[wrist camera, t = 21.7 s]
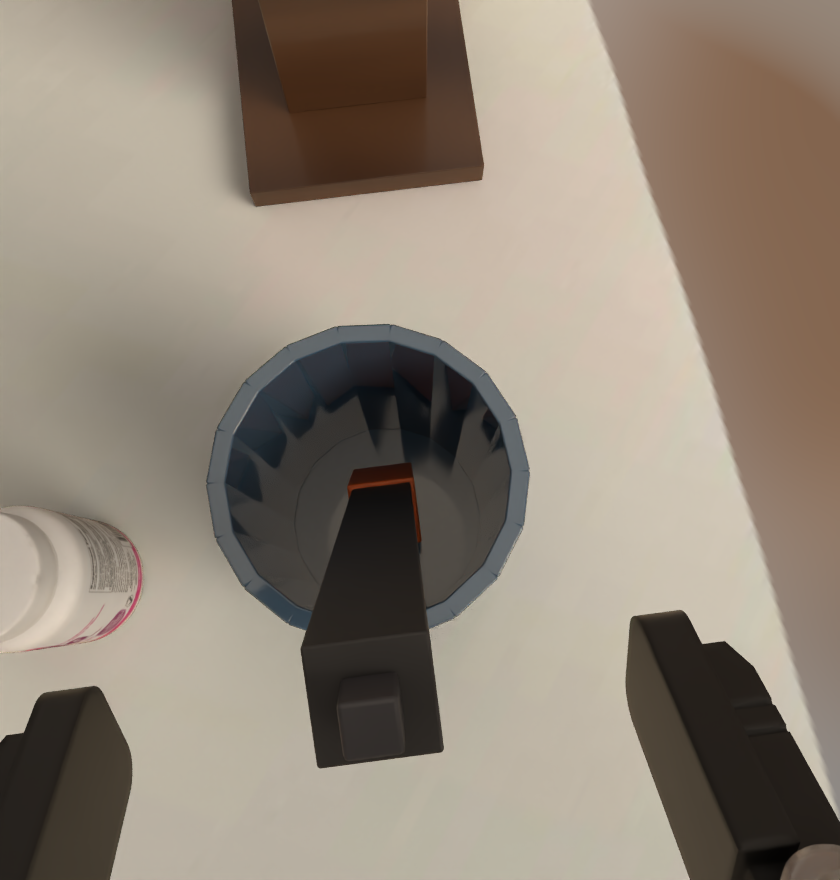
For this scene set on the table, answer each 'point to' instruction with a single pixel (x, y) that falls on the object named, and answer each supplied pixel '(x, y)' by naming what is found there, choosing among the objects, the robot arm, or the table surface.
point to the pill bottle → (63, 579)
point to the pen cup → (366, 464)
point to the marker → (373, 631)
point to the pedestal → (354, 97)
